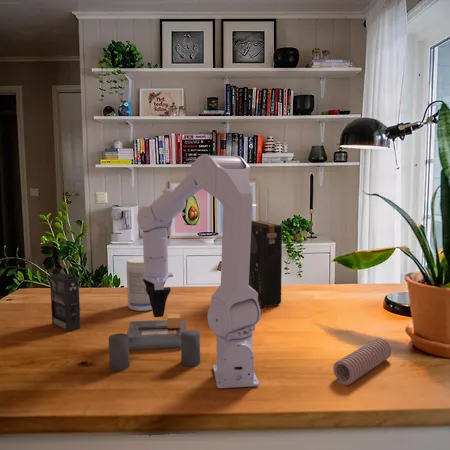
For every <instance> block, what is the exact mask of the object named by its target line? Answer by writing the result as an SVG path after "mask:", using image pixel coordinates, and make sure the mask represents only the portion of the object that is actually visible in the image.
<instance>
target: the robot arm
mask: <svg viewBox="0 0 450 450" xmlns="http://www.w3.org/2000/svg"><path fill="white" fill-rule="evenodd" d="M250 177H251V166H250V165H249V164H248V163H247V162H246V161H245V160H244V158H243V157H242V156H239V155H231V156H230V155H209V154H201V155H199V156H198V157H197V158H196V159H195V161H193V162H191V164H190V171H189V172H188V173H187V174H186V175H185V176H184V178H182V180H181V181H180V182H179V184H177V186H176V187H175V188H164V189H163V190H162V193H161V194H160V196H159V197H157V199H155V200H153V202H152V204H150V205H148V206H147V205H142V206H141V207H140V209H139V210H138V212H137V217H136V219H137V224H138V227H139V229H140V230H141V231H142V246H143V247H142V249H143V251H142V252H143V253H142V254H143V256H142V257H144V275H143V278H144V279H143V281H144V283H145V285H146V292H147V294H148V295H149V299H150V304H151V307H152V310H151V311H152V314H153V317H154V318H163V317H164V314H165V309H166V303H167V300H168V297H169V295H170V294H171V287H170V286H168V287H164V286H165V284H166V282H167V280H168V279H169V278H173V277H174V273H173V272H169V256H168V254H169V252H168V251H169V250H168V237H169V236H170V232H171V231H170V229H171V227H172V223H173V219H174V218H175V217H177V215H179V214H180V213H181V212H182V211H183V210H185V209H186V207H187V206H186V205H187V200H189V199H191V198H192V197H193V196H194V195H195V194H197V193H198V192H199V191H201V190H202V189H203V190H204V191H205V192H207V193H208V194H209V195H211V196H212V197H214V198H216V199H217V200H218V202H220V204H221V205H222V206H223V207H222V211H223V212H222V233H221V234H222V237H221V261H220V262H221V265H220V267H221V268H220V270H221V271H220V284H219V286H218V288H216V290H215V291H214V292H213V294H212V295H211V298H210V306H209V308H208V310H207V315H206V316H207V324H208V326H209V328H210V330H211V331H212V332H213V335H215V336H216V337H215V338H216V342H215V343H216V347H215V348H216V364H213V366H212V369H213V373H214V379H215V384H216V387H217V388H218V389H228V388H229V389H230V388H247V387H250V388H251V387H259V385H260V382H259V381H258V377H257V375H256V373H255V369H254V368H255V355H254V351H253V341H254V340H253V339H254V337H253V334H254V333H253V332H254V331H255V330H256V325H257V324H258V323H259V322H260V319H261V317H262V316H261V315H262V311H261V307H260V306H259V303H258V293H257V292H256V291H255V290H254V289H253V288H251V287H250V286H249V267H250V245H251V222H252V220H253V219H252V217H253V193H252V187H251V184H250V182H251V181H250V180H251V179H250Z"/></svg>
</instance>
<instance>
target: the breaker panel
mask: <svg viewBox="0 0 450 450" xmlns="http://www.w3.org/2000/svg"><path fill="white" fill-rule="evenodd" d="M128 324H129V326H128V328H127V332H126V334H127V335H128V342H129V351H137V350H140V351H141V350H155V349H156V350H157V349H175V348H176V349H177V348H178V349H179V348H180V349H181V333H182V332H184V331H188V330H187V319H185V318H182V319H181V318H180V328H168V319H160V320H138V321H135V320H134V321H129V323H128Z"/></svg>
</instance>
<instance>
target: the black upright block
mask: <svg viewBox="0 0 450 450" xmlns="http://www.w3.org/2000/svg"><path fill="white" fill-rule="evenodd" d="M282 233H283V226H282V225H281V224H275V223H271V222H265V221H260V220H253V219H252V222H251V245H250V267H249V286H250V287H251V288H253V289H254V290H255V291H256V292H257V293H258V303H259V306H260V308H262V309H263V308H266V307H269V306H276V305H280V304H281V303H282V268H283V267H282V258H283V257H282V254H283V253H282V252H283V245H282V244H283V234H282Z"/></svg>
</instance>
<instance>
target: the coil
mask: <svg viewBox="0 0 450 450" xmlns="http://www.w3.org/2000/svg"><path fill="white" fill-rule="evenodd" d="M391 356H392V347H391V344H390V343H389V341H387V339H384V338H382V337H381V338H380V337H378V338H377V337H376V338H375V339H374V340H373V339H372V341H370V342H368V343H367V344H365V345H363V346H361V347H360V348H358V349H356V350H354V351H353V352H350V353H349V354H347V355H346V356H344V357H342V358H340V359H338V360H337V361H335V363H334V364H333V367H332V369H333V374H334V376H335V377H336V379H337V381H336V383H337V384H339V385H342V386H346V387H347V386H349V385H351V384H352V383H354V382H355V381H357V380H358V379H360V378H361V377H363V376H364V375H365V374H367V373H369V372H370V371H371V370H373V369H374V368H376V367H378V365H381V364H382V363H384V362H385V361H387V360H388V359H389V358H390V357H391Z"/></svg>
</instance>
